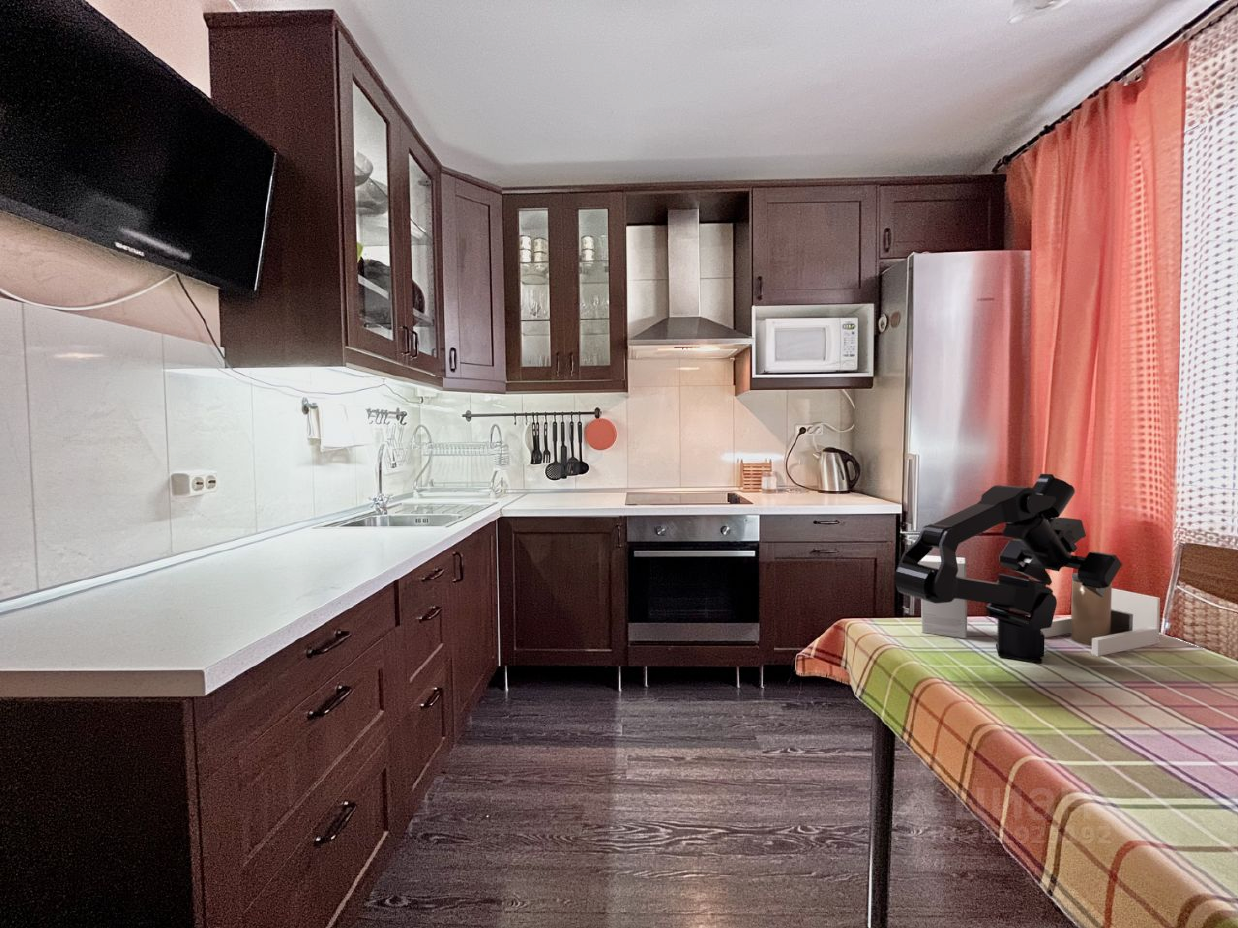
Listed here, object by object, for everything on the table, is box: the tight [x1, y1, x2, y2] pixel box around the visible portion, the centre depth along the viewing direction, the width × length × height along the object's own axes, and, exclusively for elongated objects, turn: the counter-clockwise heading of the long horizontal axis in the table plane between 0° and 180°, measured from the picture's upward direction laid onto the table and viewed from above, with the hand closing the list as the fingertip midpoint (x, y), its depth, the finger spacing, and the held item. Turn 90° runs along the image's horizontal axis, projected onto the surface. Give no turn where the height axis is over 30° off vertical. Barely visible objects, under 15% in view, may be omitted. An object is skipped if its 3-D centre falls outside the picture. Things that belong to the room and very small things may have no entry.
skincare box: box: [919, 554, 968, 639], centre depth 115 cm, size 8×7×16 cm
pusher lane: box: [1041, 588, 1161, 657], centre depth 110 cm, size 18×11×9 cm, turn 109°
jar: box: [1070, 572, 1113, 647], centre depth 109 cm, size 6×6×13 cm
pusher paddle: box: [1111, 609, 1133, 635], centre depth 111 cm, size 1×8×6 cm, turn 19°
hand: (1075, 588), depth 107 cm, fingers open, 9 cm apart
